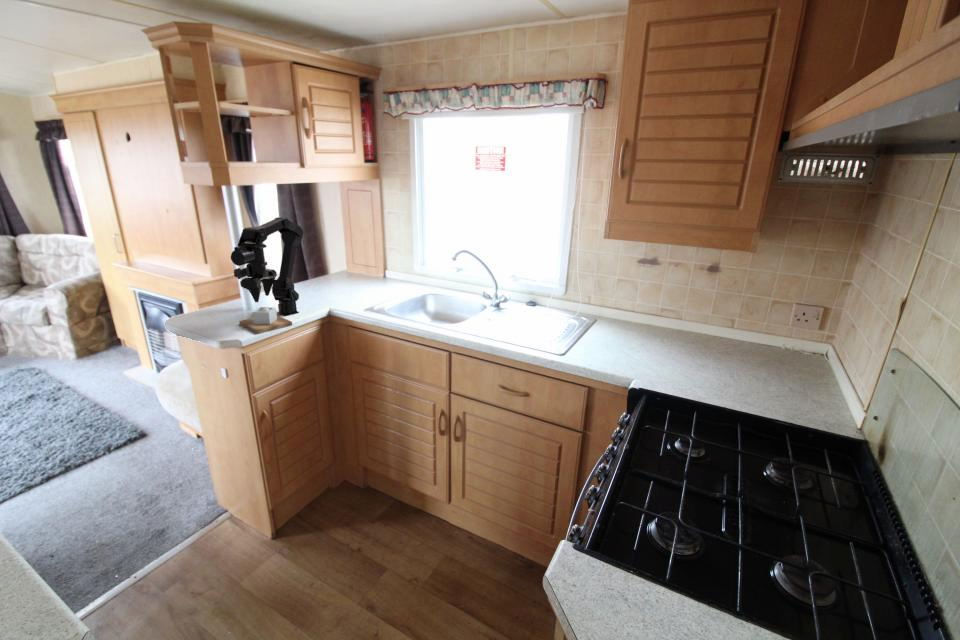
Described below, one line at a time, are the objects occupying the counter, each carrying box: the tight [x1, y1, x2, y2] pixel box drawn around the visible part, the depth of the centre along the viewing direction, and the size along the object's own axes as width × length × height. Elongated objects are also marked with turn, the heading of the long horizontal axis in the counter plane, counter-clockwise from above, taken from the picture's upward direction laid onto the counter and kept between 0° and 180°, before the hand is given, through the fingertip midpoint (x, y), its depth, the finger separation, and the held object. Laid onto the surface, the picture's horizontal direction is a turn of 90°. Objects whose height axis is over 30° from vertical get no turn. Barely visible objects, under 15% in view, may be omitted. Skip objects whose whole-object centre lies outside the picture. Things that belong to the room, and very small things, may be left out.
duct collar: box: [251, 306, 278, 324], centre depth 184 cm, size 7×7×5 cm
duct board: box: [238, 308, 293, 335], centre depth 184 cm, size 14×16×6 cm
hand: (262, 298), depth 182 cm, fingers open, 9 cm apart
